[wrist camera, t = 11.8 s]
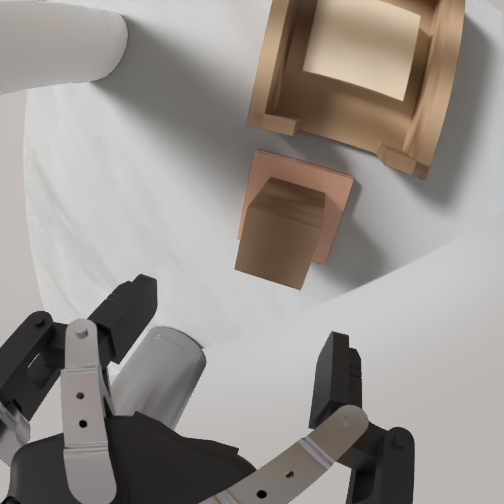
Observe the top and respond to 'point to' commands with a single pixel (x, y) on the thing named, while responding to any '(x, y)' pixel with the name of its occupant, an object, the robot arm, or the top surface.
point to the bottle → (57, 43)
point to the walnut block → (281, 232)
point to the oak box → (361, 74)
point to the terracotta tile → (307, 176)
